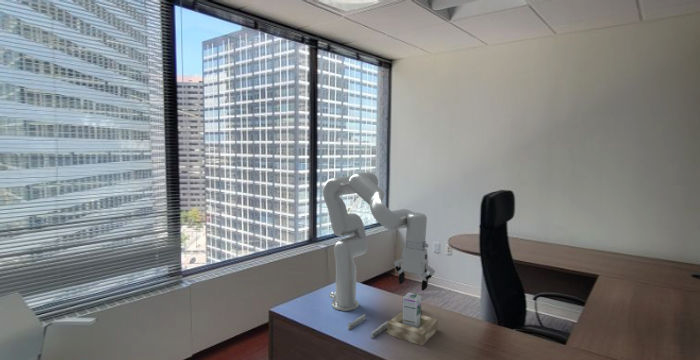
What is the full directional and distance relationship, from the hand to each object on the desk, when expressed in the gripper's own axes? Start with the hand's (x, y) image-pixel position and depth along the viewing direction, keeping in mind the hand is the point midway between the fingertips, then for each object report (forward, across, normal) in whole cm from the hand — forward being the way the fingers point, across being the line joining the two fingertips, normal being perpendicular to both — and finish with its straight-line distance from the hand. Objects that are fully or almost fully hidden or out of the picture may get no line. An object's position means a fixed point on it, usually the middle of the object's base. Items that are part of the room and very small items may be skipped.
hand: (412, 286), depth 149 cm
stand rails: (+19, +15, +8) cm, 26 cm away
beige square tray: (+19, -1, 0) cm, 19 cm away
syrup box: (+18, -1, 0) cm, 19 cm away
